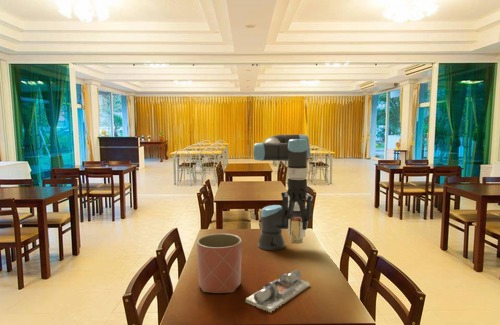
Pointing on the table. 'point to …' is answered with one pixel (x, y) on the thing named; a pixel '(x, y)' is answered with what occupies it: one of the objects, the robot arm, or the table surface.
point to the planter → (219, 262)
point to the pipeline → (278, 291)
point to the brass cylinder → (296, 230)
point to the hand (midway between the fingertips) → (296, 235)
